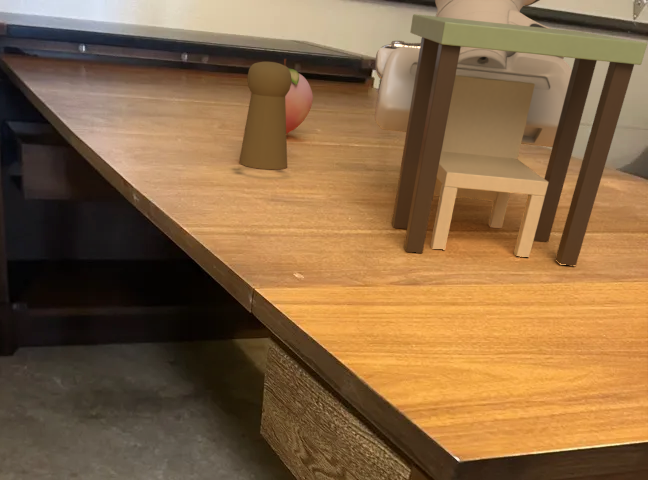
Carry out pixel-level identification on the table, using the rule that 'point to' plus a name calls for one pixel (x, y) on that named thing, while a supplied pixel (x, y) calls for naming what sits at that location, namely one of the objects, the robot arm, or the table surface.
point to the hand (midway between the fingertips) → (473, 170)
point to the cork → (266, 117)
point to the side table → (587, 49)
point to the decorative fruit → (297, 100)
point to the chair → (487, 156)
